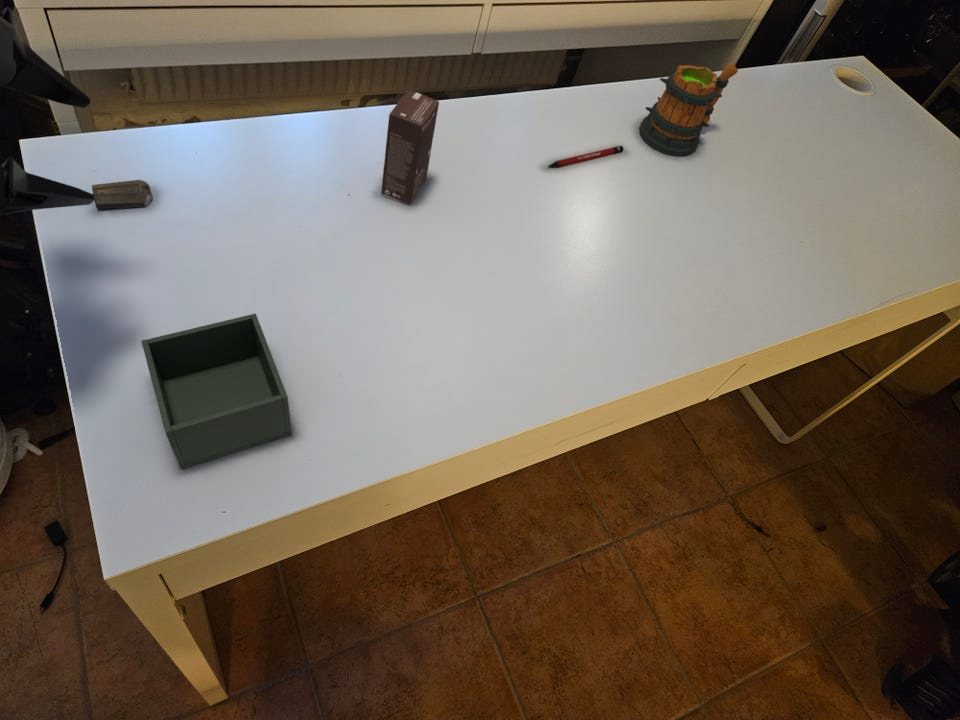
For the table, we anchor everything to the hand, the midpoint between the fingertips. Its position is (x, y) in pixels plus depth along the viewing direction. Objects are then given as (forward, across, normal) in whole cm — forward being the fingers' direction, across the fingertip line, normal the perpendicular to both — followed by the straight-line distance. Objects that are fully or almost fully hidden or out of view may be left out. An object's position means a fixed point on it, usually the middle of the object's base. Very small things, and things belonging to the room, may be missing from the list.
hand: (90, 150), depth 54 cm
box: (+38, +9, -3) cm, 40 cm away
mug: (+75, +18, -31) cm, 83 cm away
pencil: (+60, +14, -20) cm, 65 cm away
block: (+13, +9, +19) cm, 25 cm away
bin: (+14, -20, +5) cm, 25 cm away
